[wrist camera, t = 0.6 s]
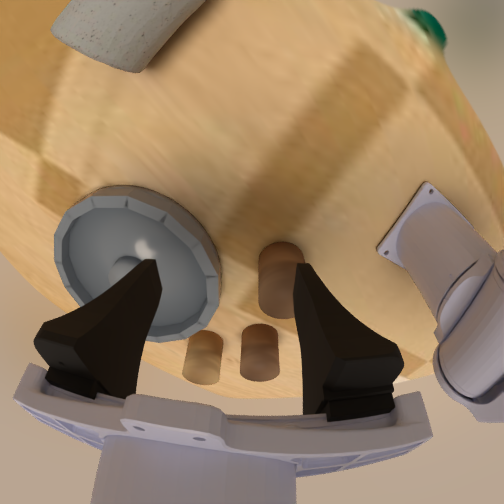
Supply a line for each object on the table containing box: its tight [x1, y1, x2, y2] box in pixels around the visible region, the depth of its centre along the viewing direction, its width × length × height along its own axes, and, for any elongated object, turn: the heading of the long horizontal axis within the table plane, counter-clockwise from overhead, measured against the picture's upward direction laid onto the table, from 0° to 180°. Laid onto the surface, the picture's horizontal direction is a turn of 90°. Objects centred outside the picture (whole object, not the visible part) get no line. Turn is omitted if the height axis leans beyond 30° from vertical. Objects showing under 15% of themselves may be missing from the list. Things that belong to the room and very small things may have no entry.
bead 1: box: [182, 330, 223, 385], centre depth 29 cm, size 4×4×5 cm
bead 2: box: [240, 324, 280, 382], centre depth 28 cm, size 4×4×5 cm
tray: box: [54, 185, 221, 343], centre depth 24 cm, size 17×17×2 cm
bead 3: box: [259, 242, 305, 319], centre depth 22 cm, size 4×4×5 cm
